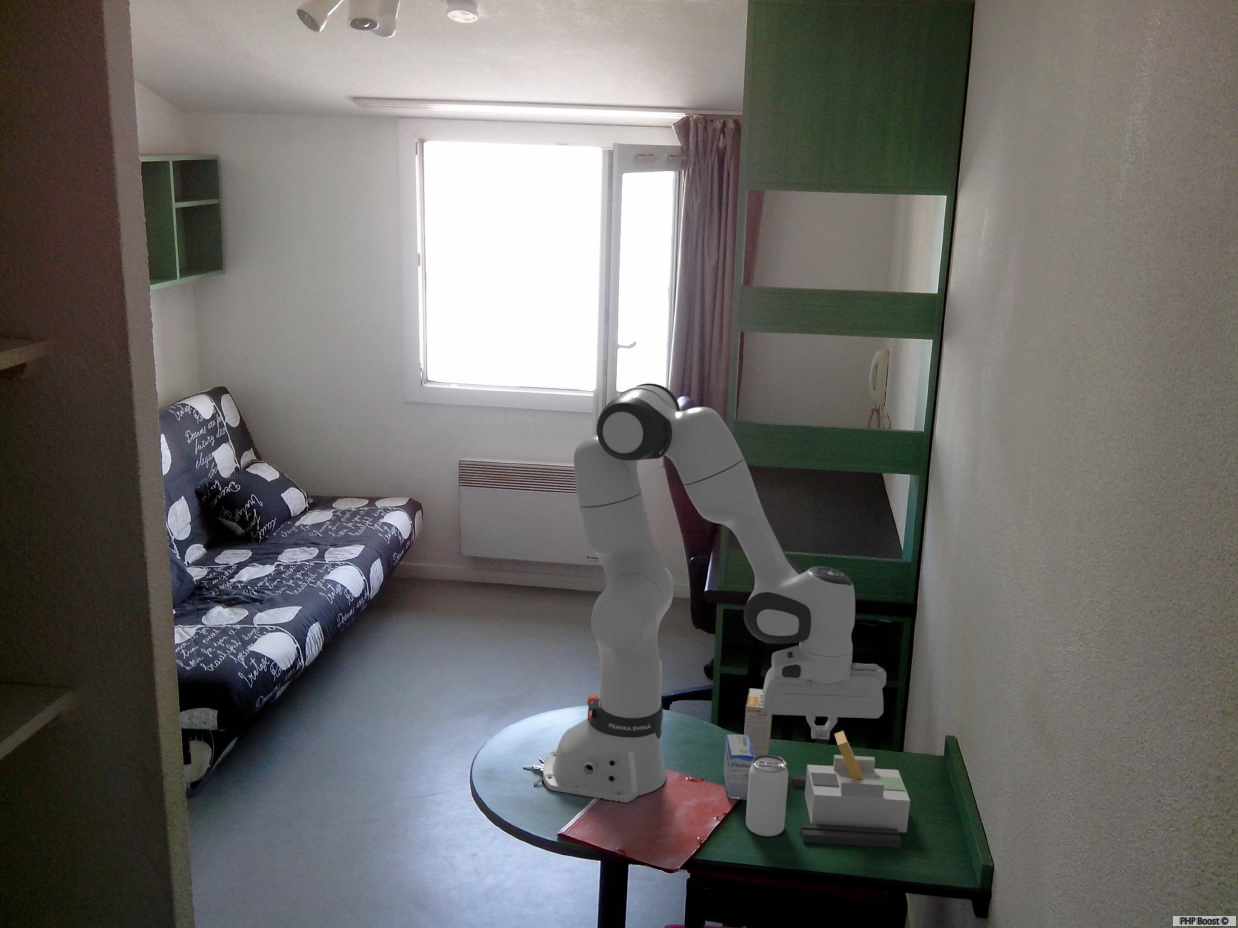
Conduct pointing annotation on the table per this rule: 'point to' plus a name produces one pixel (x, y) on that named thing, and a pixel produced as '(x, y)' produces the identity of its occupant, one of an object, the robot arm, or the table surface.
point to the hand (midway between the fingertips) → (820, 737)
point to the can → (767, 795)
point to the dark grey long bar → (798, 780)
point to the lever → (848, 756)
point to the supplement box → (757, 723)
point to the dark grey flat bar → (850, 835)
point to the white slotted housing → (856, 795)
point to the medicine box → (737, 765)
